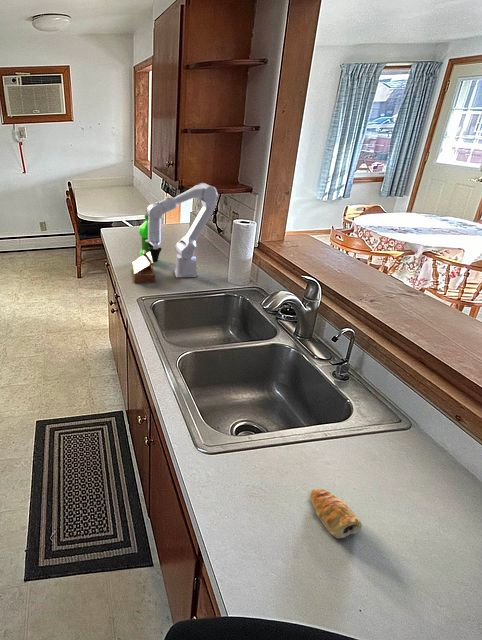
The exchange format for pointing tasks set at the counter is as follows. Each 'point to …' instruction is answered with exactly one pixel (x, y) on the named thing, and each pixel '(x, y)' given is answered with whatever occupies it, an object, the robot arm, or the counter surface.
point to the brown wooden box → (145, 275)
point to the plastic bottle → (144, 235)
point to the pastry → (334, 514)
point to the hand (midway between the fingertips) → (154, 258)
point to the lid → (142, 262)
